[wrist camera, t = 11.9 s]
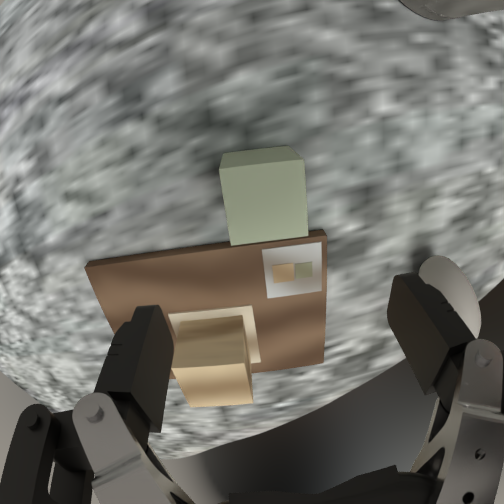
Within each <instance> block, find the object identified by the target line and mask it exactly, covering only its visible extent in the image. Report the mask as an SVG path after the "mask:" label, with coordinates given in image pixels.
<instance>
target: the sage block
mask: <svg viewBox="0 0 504 504" xmlns="http://www.w3.org/2000/svg"><path fill="white" fill-rule="evenodd" d="M219 174H220V181H221V187H222V193H223V200H224V206H225V212H226V218H227V224H228V231H229V237H230V243H231V246H232V245H240V244H248V243H256V242H264V241H272V240H280V239H288V238H296V237H304V236H308V218H307V199H306V182H305V167H304V159H303V158H302V157H300V156H299V155H298V154H297V153H296V152H295V151H293V150H292V149H291V148H290V147H289V146H280V147H271V148H261V149H253V150H245V151H237V152H229V153H223V156H222V160H221V163H220V167H219Z"/></svg>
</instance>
